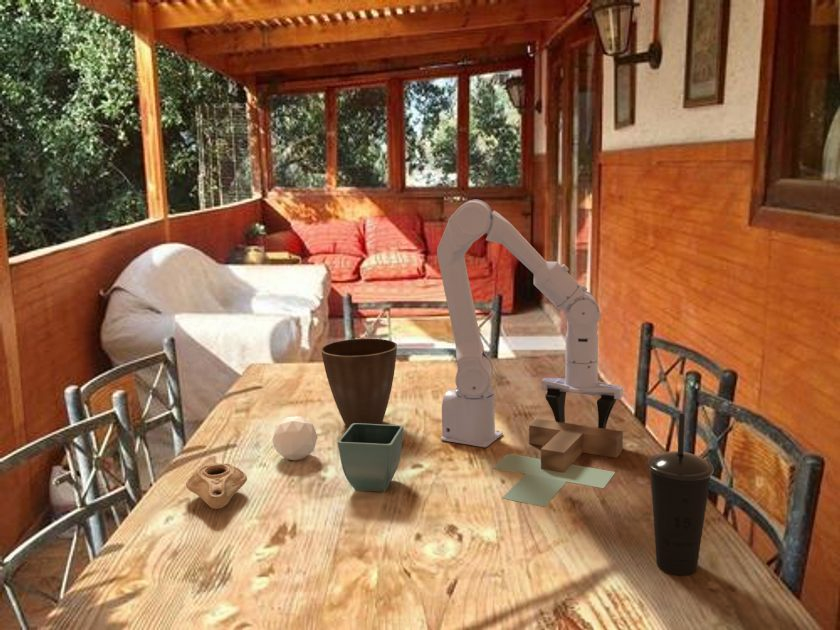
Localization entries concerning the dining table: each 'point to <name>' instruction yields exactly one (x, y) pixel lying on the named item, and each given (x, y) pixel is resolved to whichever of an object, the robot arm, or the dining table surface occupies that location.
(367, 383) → the plant pot
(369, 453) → the flower pot
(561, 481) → the t mat
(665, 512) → the drinking cup
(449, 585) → the dining table surface
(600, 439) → the t block
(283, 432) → the geometric ball
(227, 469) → the pottery oil lamp
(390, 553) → the dining table surface
